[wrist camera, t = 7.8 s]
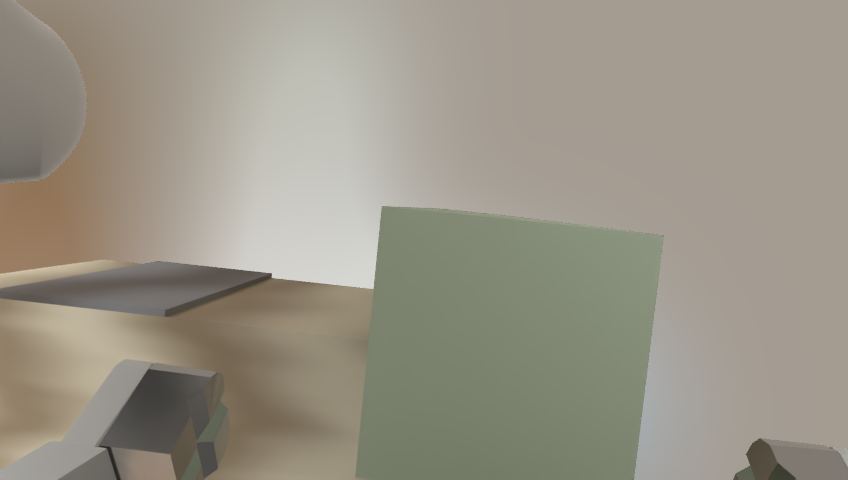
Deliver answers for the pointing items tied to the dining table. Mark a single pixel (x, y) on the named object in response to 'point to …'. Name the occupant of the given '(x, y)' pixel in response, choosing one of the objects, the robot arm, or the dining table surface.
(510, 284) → the green block
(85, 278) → the stand
